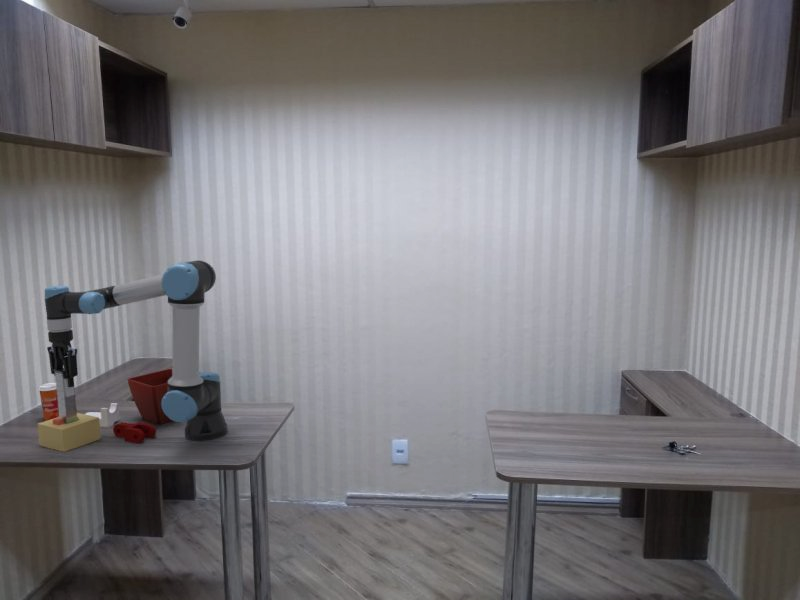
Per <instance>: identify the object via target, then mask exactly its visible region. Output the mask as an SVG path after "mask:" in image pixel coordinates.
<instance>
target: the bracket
mask: <svg viewBox="0 0 800 600" xmlns="http://www.w3.org/2000/svg"><path fill="white" fill-rule="evenodd" d="M85 415H90V416H94V417H99V423H100V428H110V427H112V426H114V425H115V423H116V422H118V421H119V420H120V410H119V403H118V402H117V403H116V402H115V403H114V402H112V403H110V407H109V408H108V407H102V408H100V412H99V411H95V412H93V411H87V412H86V413H85Z"/></svg>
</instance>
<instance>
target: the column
mask: <svg viewBox="0 0 800 600" xmlns="http://www.w3.org/2000/svg"><path fill="white" fill-rule="evenodd" d="M54 373H55V375H54V377H55V383H56V387H57V398H58V408H59V418H60V419H63V421H64V424H68V423H71V422H74V421H77V420H79V418H78V417H77V413H78V411H77V400H76V391H75V390H76V389H75V387H74V393H75V395H72V396H68V397H66V389H65V379H64V378H65V377H66V375H65V370H64V367H63V368H62V369H57V370H54Z"/></svg>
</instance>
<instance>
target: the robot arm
mask: <svg viewBox="0 0 800 600" xmlns="http://www.w3.org/2000/svg"><path fill="white" fill-rule="evenodd" d="M216 275H217V274H216V272H215V269H214V267H213V266H212V265H211V264H209V263H208V262H206V261H203V260H200V259H199V260H192V261H184V262H177V263H176V264H173V265H171V266H169V267H168V268H166V270H165V271H164V272H163V274H158V275H155V276H149V277H146V278H142V279H141V278H140V279H136V280H133V281H129V282H124V283H121V284H116V285H110V286H107V287H103V288H102V287H101V288H97V289H93V290H87V291H76V292H75V291H70V288H69V286H68V285H52V286H47V287H45V288H44V305H45V312H46V325H47V330H48V333H47V334H48V335H47V336H48V337H47V338H48V342H49V343H52V344H51V346H47V353H48V357H49V367H50V368H49V369H50V373H51V375H54V376H55V373H54V370H57V369H62V368H64V370H65V375H66V377H65V378H64V379H65V389H66V397H68V396H72V395H75V396H76V392H75V393H74V388H75V379H74V377H78V373H79V372H78V360H77V358H78V357H77V355H78V349H77V348H73V347H72V344H71V341H73V340H74V332H73V323H72V320H73V319H72V314H76V315H77V314H81V315H85V314H86V315H95V314H100V313H102V311H103V310H107V309H111V308H115V307H120V306H122V305H123V306H124V305H128V304H133V303H137V302H141V301H147V300H150V299H155V298H159V297H164V296H167V303H168V304H169V305H170V306H171V308H172V365H171V366H172V368H171V369H172V377H171V378H170V379H169V380H168V392H167V393H166V394H165V395H164V397H163V399H162V403H161V405H162V410H163V412H164V413H165V415H166V416H168V417H169V419H171V420H172V421H173V422H176V423H186V425H185V428H184V437H185V439H187V440H191V441H209V440H214V439H219V438H221V437H223V436H225V435H226V434H227V433H228V425H227V422H226V420H225V416H224V415H223V412H222V399H221V398H222V395H221V393H222V392H221V380H220V379H221V378H220V375H219V374H218V373H217V372H213V371H212V372H211V371H200V319H201V318H200V316H201V315H200V308H201V307H202V306H203V305H204V304H205V293H207V292H208V291H210V290H211V289H212V288H213V287H214V286H215V284H216V280H217V279H216V278H217V276H216Z"/></svg>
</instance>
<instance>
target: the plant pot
mask: <svg viewBox="0 0 800 600" xmlns="http://www.w3.org/2000/svg"><path fill="white" fill-rule="evenodd" d="M171 377H172V368H165V369H162V370H159V371H155V372H149V373H145V374H141V375H138V376H133V377H129V378H127V383H128V387H129V391H130V394H131V397H132V399H133V401H134V404H135V405H136V406H135V407H136V408H137V410H138V413H139V414H140V416H141V418H142V419H144V420H146V421H148V422H151V423H154V424H157V425H162V424H166V423H168V422H171V421H173V420H171V419H169V417H168V416H166V415H165V413H164V412H163V410H162V405H161V403H162V399H163V397H164V395H165V394H166V393H167V392H168V380H169V379H170V378H171Z"/></svg>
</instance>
